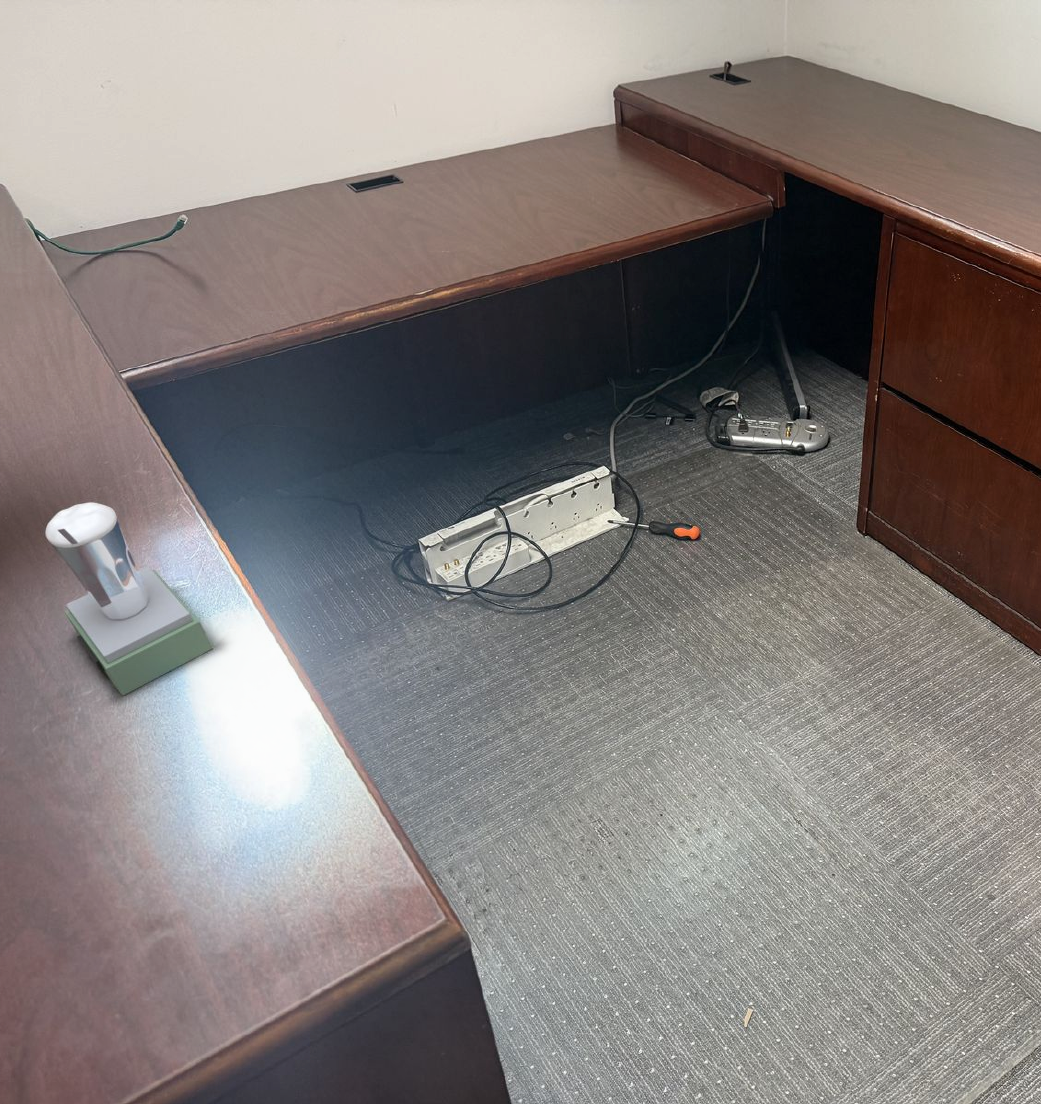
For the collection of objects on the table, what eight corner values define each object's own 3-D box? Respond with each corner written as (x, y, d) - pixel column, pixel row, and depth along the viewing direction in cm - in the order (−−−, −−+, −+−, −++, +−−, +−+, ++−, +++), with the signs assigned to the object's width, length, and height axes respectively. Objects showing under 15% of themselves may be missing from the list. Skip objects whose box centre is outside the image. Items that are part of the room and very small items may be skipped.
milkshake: (86, 639, 75) (24, 535, 69) (100, 593, 79) (41, 491, 73) (152, 626, 76) (96, 523, 70) (161, 581, 80) (110, 480, 74)
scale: (119, 698, 76) (97, 663, 74) (77, 639, 81) (56, 605, 78) (213, 648, 80) (195, 613, 77) (167, 595, 85) (150, 561, 82)
